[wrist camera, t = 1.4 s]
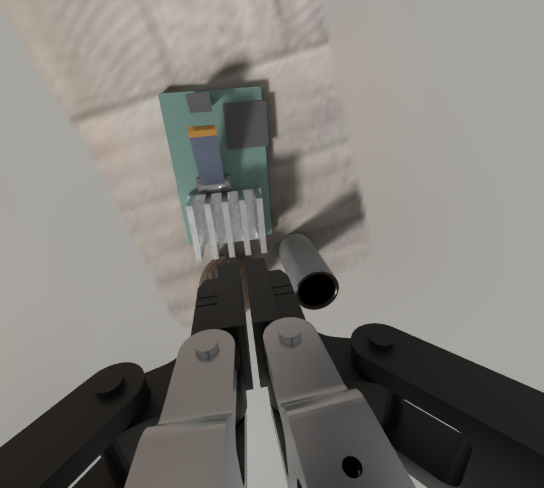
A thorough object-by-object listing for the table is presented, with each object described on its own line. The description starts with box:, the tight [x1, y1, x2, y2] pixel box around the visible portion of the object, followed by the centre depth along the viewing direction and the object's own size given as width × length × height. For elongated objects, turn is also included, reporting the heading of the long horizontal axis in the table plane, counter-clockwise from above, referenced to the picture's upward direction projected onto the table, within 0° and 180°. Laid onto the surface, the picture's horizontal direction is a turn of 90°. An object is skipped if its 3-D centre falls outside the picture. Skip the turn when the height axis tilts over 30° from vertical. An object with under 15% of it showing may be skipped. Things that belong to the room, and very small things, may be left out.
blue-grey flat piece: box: [188, 125, 230, 193], centre depth 28 cm, size 7×3×1 cm, turn 5°
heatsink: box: [186, 174, 267, 262], centre depth 32 cm, size 8×8×5 cm
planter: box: [278, 233, 339, 310], centre depth 34 cm, size 4×4×10 cm
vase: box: [199, 255, 250, 312], centre depth 35 cm, size 7×7×9 cm
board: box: [158, 86, 272, 244], centre depth 33 cm, size 16×10×1 cm, turn 4°
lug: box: [186, 92, 213, 113], centre depth 27 cm, size 2×2×4 cm
